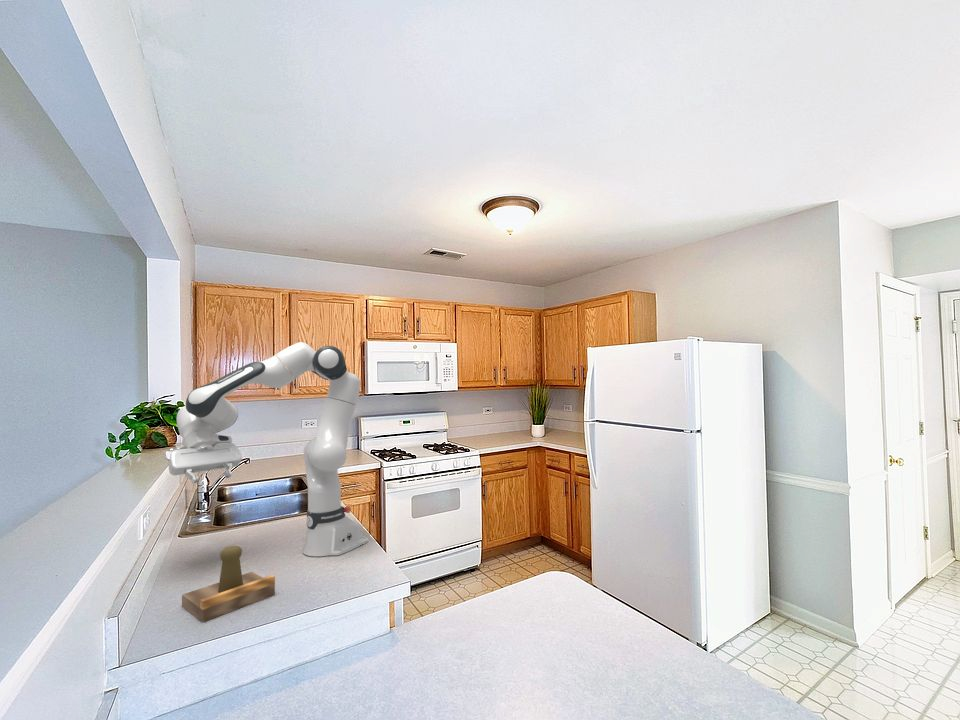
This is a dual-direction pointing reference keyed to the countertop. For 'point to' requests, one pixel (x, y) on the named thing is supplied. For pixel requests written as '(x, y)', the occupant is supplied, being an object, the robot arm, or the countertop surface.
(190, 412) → the robot arm
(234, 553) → the cork
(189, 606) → the dock
